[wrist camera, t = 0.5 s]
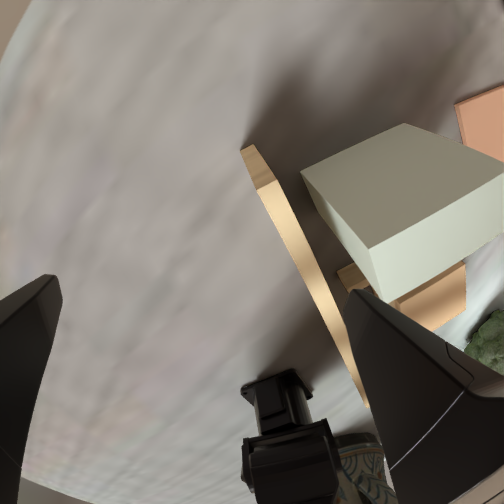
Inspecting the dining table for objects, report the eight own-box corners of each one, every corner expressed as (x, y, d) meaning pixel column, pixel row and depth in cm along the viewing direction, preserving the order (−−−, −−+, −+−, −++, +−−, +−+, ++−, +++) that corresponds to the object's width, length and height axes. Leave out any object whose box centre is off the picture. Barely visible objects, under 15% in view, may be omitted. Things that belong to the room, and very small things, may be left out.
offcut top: (458, 300, 28) (465, 309, 27) (401, 335, 29) (407, 345, 28) (455, 255, 25) (465, 264, 24) (391, 293, 26) (399, 304, 25)
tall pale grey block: (414, 163, 22) (514, 223, 13) (317, 211, 24) (384, 305, 14) (403, 122, 21) (512, 167, 11) (299, 171, 22) (368, 249, 12)
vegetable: (462, 392, 40) (457, 412, 29) (466, 315, 43) (463, 309, 32) (527, 387, 33) (544, 406, 22) (530, 308, 36) (549, 299, 25)
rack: (455, 282, 30) (497, 329, 23) (340, 346, 32) (366, 408, 25) (415, 73, 19) (491, 84, 12) (239, 151, 21) (256, 190, 14)
